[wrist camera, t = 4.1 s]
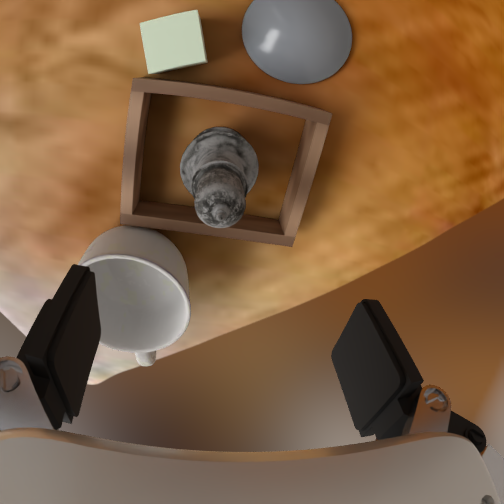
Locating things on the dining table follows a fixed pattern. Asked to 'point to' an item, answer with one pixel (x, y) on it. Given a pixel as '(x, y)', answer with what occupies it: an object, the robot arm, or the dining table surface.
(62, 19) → the dining table surface
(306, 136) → the walnut corral
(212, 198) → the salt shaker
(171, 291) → the teacup
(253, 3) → the slate coaster
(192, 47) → the sage block
